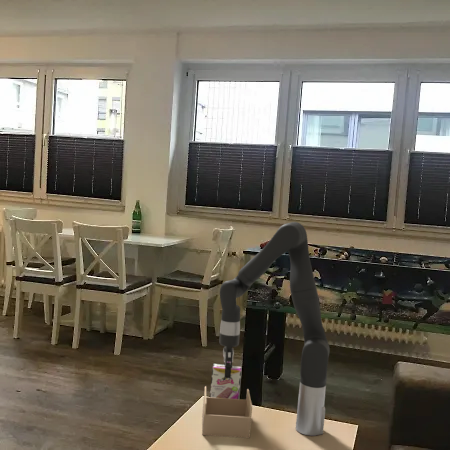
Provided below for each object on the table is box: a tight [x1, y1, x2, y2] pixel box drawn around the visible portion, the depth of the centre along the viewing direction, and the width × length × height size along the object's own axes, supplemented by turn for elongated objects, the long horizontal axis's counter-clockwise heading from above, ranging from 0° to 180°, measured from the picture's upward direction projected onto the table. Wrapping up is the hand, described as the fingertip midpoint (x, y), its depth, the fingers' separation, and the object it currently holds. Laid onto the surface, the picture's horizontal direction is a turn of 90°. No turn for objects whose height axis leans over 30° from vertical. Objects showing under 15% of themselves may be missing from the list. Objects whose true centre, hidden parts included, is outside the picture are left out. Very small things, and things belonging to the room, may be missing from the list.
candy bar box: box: [209, 363, 243, 399], centre depth 215 cm, size 11×5×16 cm, turn 87°
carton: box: [201, 385, 253, 439], centre depth 200 cm, size 16×16×11 cm
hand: (227, 373), depth 215 cm, fingers open, 8 cm apart
